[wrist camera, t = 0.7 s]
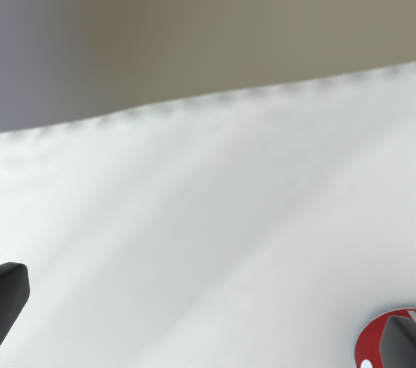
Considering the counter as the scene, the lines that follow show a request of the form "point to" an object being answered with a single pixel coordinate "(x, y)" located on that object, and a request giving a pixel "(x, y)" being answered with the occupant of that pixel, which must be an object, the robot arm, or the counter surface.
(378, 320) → the soda can
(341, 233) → the counter surface
